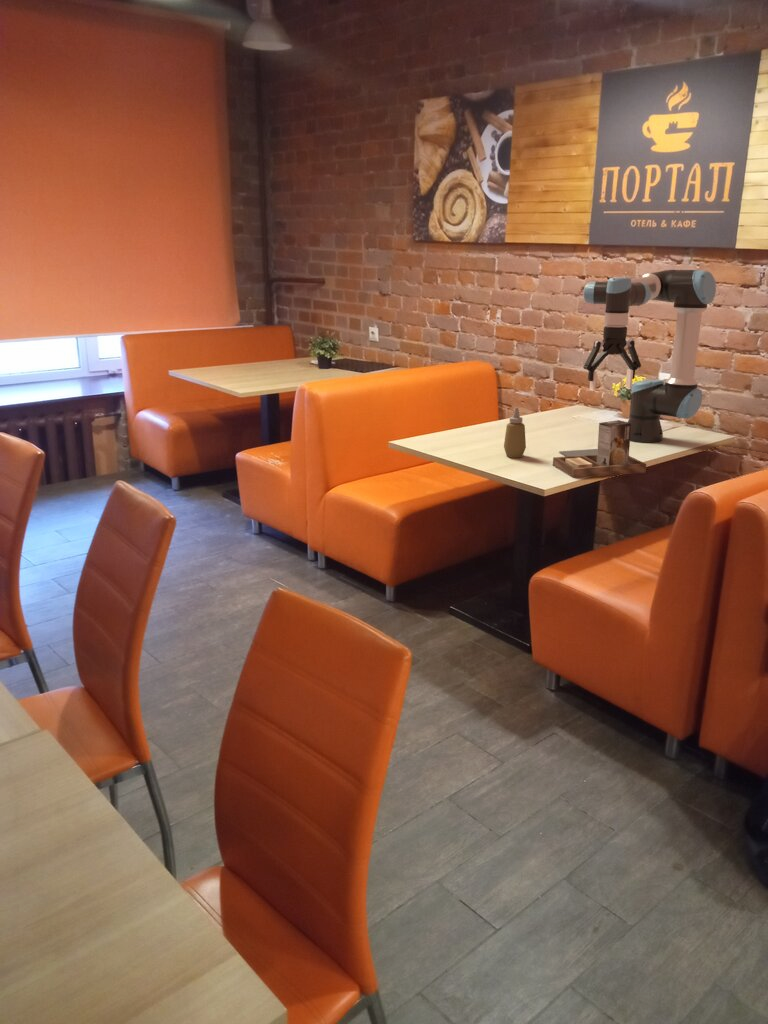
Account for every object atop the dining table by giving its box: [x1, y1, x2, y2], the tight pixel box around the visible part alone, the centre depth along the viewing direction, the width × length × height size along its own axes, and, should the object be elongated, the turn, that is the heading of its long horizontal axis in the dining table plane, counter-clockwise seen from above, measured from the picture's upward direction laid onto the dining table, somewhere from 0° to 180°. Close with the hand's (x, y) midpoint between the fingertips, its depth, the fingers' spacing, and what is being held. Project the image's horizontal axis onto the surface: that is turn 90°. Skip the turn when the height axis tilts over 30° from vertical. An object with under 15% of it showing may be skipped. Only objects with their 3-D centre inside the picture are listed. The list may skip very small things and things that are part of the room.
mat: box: [559, 448, 598, 457], centre depth 302 cm, size 18×13×1 cm
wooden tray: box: [552, 454, 647, 479], centre depth 284 cm, size 27×16×3 cm, turn 103°
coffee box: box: [597, 420, 631, 466], centre depth 283 cm, size 9×6×16 cm
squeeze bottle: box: [503, 407, 527, 459], centre depth 299 cm, size 8×8×18 cm
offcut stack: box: [565, 458, 592, 468], centre depth 282 cm, size 6×10×4 cm, turn 15°
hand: (610, 389), depth 279 cm, fingers open, 13 cm apart
